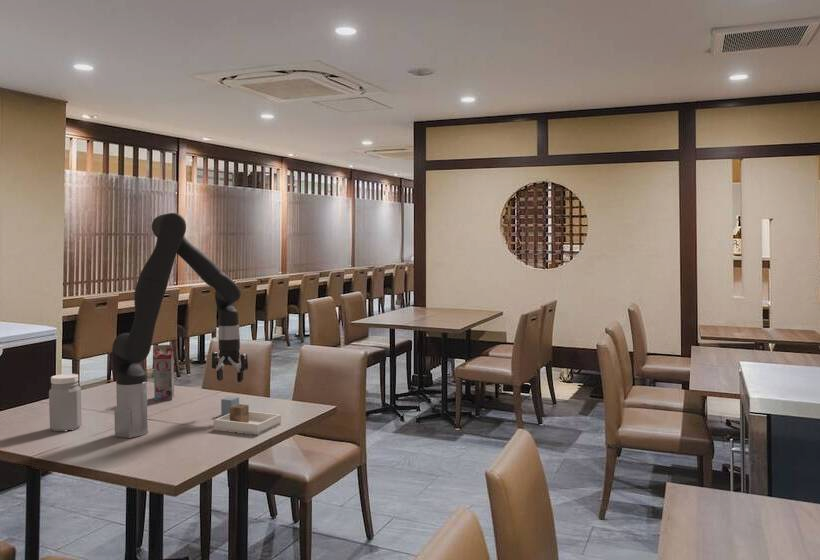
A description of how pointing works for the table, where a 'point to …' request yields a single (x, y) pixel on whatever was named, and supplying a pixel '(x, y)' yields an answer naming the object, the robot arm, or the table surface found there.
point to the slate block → (228, 404)
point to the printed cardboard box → (163, 372)
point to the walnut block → (239, 413)
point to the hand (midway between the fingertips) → (230, 381)
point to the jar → (65, 402)
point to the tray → (249, 423)
